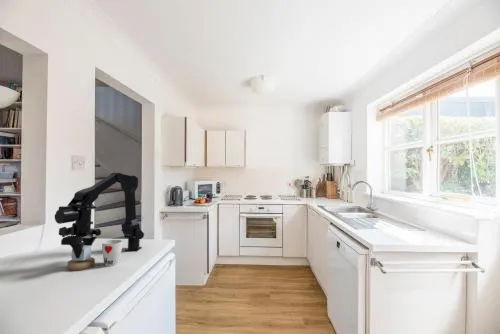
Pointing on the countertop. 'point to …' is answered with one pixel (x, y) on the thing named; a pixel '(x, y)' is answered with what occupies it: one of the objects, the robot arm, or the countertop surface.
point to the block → (83, 253)
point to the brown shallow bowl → (80, 264)
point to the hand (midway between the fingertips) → (81, 256)
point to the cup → (111, 251)
